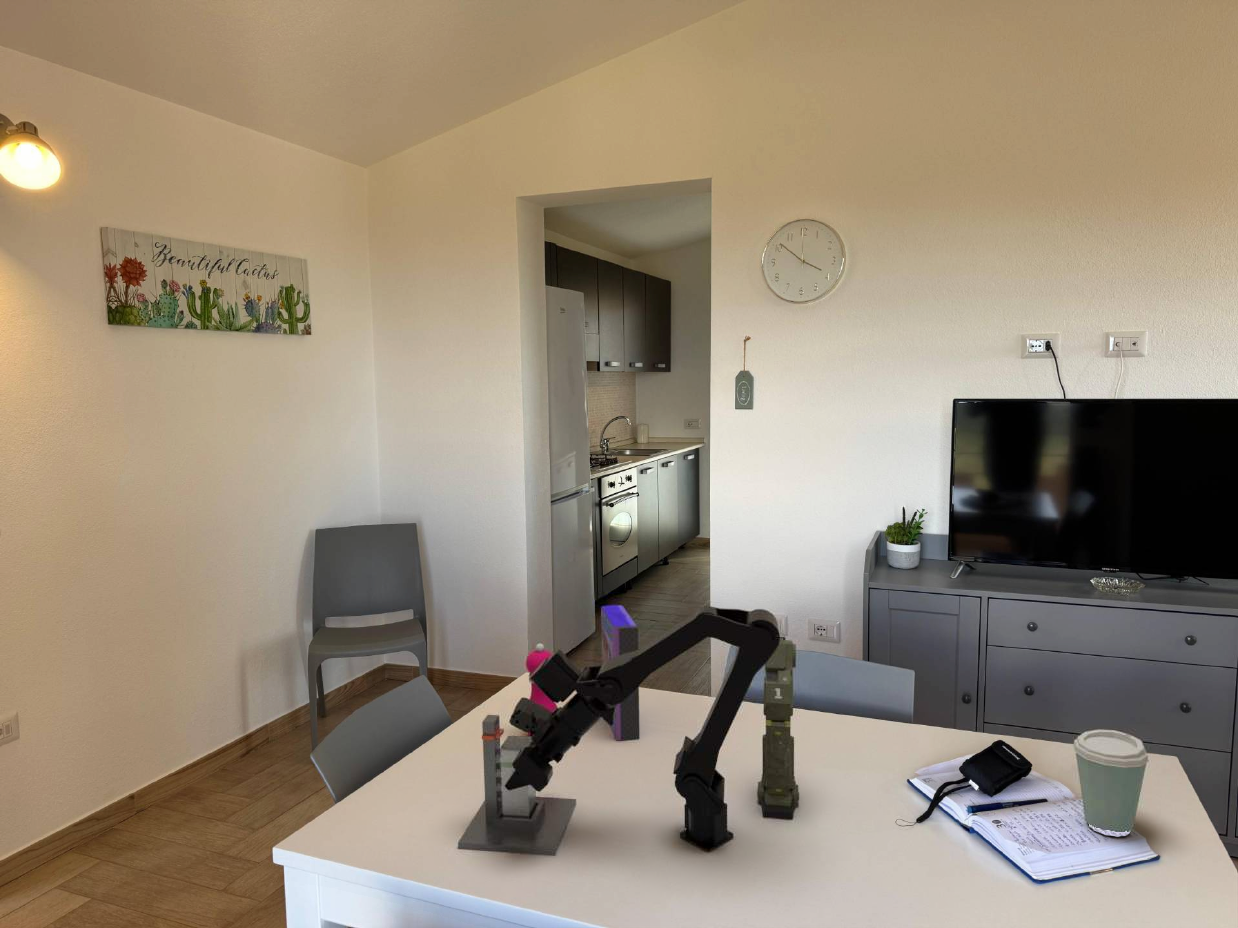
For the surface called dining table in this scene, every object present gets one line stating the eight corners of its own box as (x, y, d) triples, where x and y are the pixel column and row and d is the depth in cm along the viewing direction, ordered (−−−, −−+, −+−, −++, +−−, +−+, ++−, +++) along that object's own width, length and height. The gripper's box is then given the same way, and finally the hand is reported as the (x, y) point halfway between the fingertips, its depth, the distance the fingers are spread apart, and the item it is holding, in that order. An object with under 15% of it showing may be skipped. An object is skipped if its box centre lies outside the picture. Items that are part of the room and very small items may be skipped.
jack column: (536, 808, 143) (534, 736, 142) (529, 822, 139) (527, 748, 137) (510, 806, 144) (508, 735, 143) (502, 820, 139) (500, 747, 138)
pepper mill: (520, 732, 178) (517, 641, 176) (552, 726, 181) (550, 636, 179) (531, 745, 172) (528, 651, 170) (564, 739, 175) (562, 645, 173)
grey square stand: (576, 804, 148) (574, 703, 146) (555, 855, 132) (552, 742, 130) (489, 798, 151) (485, 699, 149) (458, 848, 135) (454, 737, 133)
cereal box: (603, 708, 190) (601, 605, 188) (623, 707, 191) (622, 604, 189) (616, 741, 173) (614, 628, 171) (639, 739, 174) (637, 626, 172)
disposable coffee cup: (1113, 851, 131) (1117, 759, 129) (1054, 818, 141) (1057, 732, 139) (1160, 836, 135) (1165, 746, 133) (1099, 805, 145) (1103, 721, 143)
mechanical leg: (799, 826, 138) (800, 640, 142) (755, 822, 139) (756, 638, 143) (798, 804, 151) (799, 635, 155) (758, 801, 153) (759, 633, 157)
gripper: (552, 666, 147) (493, 723, 150) (523, 707, 129) (457, 772, 132) (597, 711, 147) (537, 768, 150) (574, 759, 129) (507, 823, 132)
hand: (510, 780), depth 141 cm, fingers closed on jack column, 4 cm apart
